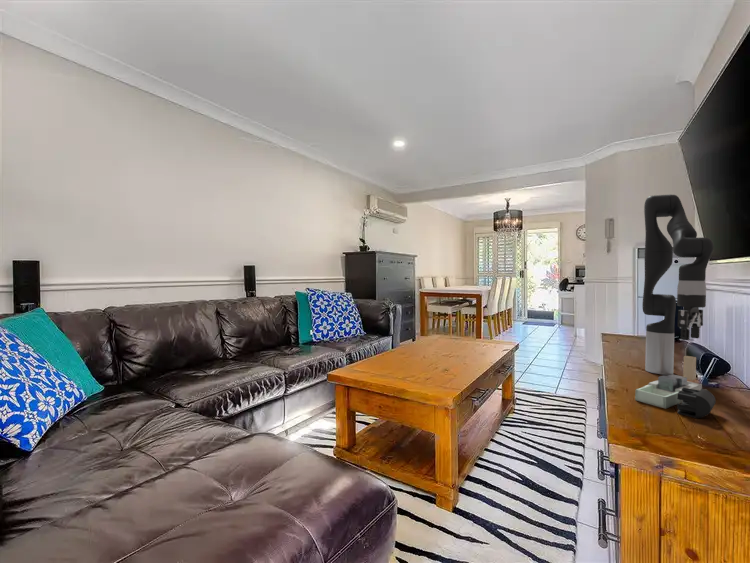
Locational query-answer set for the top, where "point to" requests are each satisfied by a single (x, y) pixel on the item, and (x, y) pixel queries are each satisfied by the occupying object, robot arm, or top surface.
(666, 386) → the dark grey cube
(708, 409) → the end cap
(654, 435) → the top surface
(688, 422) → the top surface
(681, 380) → the grey cube block
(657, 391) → the slot board
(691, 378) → the two-tone stepped bar
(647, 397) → the tray
